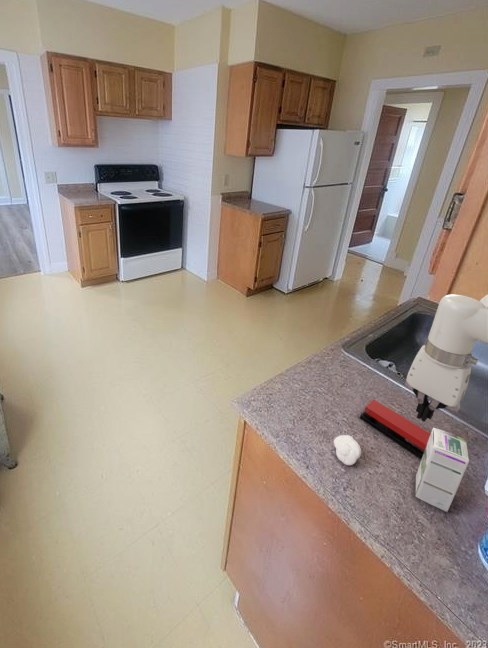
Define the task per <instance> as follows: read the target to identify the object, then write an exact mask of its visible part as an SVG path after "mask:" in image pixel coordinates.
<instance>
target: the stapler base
mask: <svg viewBox="0 0 488 648" xmlns="http://www.w3.org/2000/svg"><path fill="white" fill-rule="evenodd" d="M359 419H360V420H362V421H363V422H365V423H366V424H367V425H369V426H370V427H372V428H373V429H375V430H377V431H378V432H380V433H381V434H382V435H384V436H385V437H386V438H389V439H390V440H391V441H393V442H394V443H396V444H398V445H399V446H401V447H402V448H404V449H405V450H406V451H408V452H410V453H411V454H412V455H414V456H415V457H417V458H419V459H420V460H421V459H422V457H423V454H424V450H423V449H421V448H420V447H418V446H417V445H415V444H413V443H412V442H410V441H409V440H407V439H406V438H404V437H403V436H401V435H399V434H398V433H396V432H395V431H393V430H392V429H390V428H389V427H387V426H385V425H384V424H382V423H381V422H379V421H378V420H376V419H375V418H373V417H372V416H370V415H368V414H367V413H365V412H364V411H362V413H361V414H360V416H359Z"/></svg>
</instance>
